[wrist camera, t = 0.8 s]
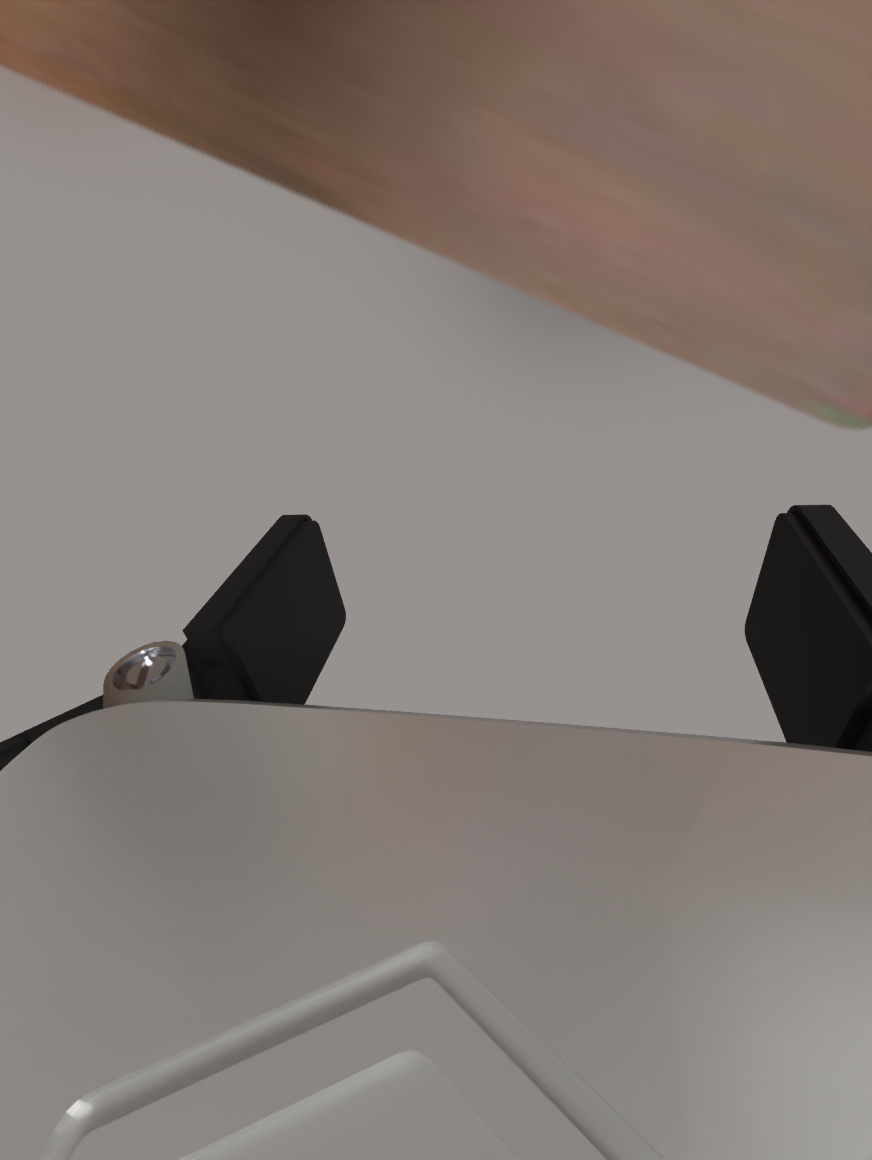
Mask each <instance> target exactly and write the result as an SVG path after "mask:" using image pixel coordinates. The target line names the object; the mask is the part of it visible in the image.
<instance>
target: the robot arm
mask: <svg viewBox="0 0 872 1160" xmlns="http://www.w3.org/2000/svg"><path fill="white" fill-rule="evenodd" d="M345 620H346V612H345V608H344V605H343V601H342V598H341V595H340V592H339V588H338V585H337V582H336V579H335V575H334V572H333V569H332V565H331V562H330V559H329V556H328V552H327V549H326V546H325V542H324V539H323V536H322V533H321V529H320V526H319V524H318V523H317V522H316V521H312V519H311V518H310V516H308V515H282V516H281V517H280V518H279V519H278V520H277V521H276V523H275V524H274V525H273V526H272V527H271V528H270V530H269V531H268V532H267V533H266V534H265V535H264V537H263V538H262V539H261V540H260V541H259V543H258V544H257V545H256V546H255V547H254V548H253V549H252V550H251V552H250V553H249V554H248V555H247V556H246V557H245V559H244V560H243V561H242V562H241V563H240V564H239V566H238V567H237V568H236V569H235V570H234V572H233V573H232V574H231V575H230V576H229V577H228V578H227V580H226V581H225V582H224V583H223V584H222V585H221V587H220V588H219V589H218V590H217V591H216V592H215V594H214V595H213V596H212V597H211V598H210V599H209V600H208V602H207V603H206V604H205V605H204V606H203V607H202V609H201V610H200V611H199V612H198V613H197V614H196V616H195V617H194V618H193V619H192V620H191V621H190V623H189V624H188V625H187V626H186V627H185V628H184V629H183V632H184V634H185V636H186V637H187V641H186V642H185V643H184V644H183V645H182V646H181V645H179V644H178V643H176V642H171V641H162V642H154V643H151V644H148V645H144V646H142V647H140V648H138V649H136V650H134V651H131V652H130V653H128V654H127V655H126V656H124V657H123V658H121V659H120V660H119V661H118V662H117V663H116V664H115V665H114V666H113V667H112V668H111V669H110V671H109V672H108V673H107V675H106V677H105V680H104V685H103V695H102V696H99V697H97V698H95V699H93V700H91V701H89V702H86V703H85V704H82V705H80V706H78V707H76V708H74V709H72V710H69V711H67V712H65V713H63V714H61V715H58V716H56V717H54V718H52V719H50V720H48V721H46V722H43V723H41V724H39V725H37V726H35V727H33V728H31V729H28V730H26V731H24V732H22V733H20V734H18V735H15V736H13V737H12V738H10V739H7V740H5V741H2V742H0V1160H872V553H871V552H870V551H869V549H868V548H867V547H866V546H865V544H864V543H863V542H862V541H861V540H860V538H859V537H858V536H857V535H856V534H855V533H854V531H853V530H852V529H851V528H850V526H849V525H848V524H847V523H846V522H845V520H844V519H843V518H842V517H841V516H840V514H839V513H838V512H837V511H836V510H835V508H834V507H832V506H831V505H794V506H792V507H791V508H790V509H789V510H788V512H787V513H781V514H779V515H778V516H777V518H776V520H775V523H774V527H773V530H772V534H771V537H770V540H769V544H768V547H767V551H766V554H765V557H764V561H763V564H762V568H761V571H760V575H759V578H758V581H757V585H756V588H755V592H754V595H753V598H752V602H751V605H750V609H749V612H748V616H747V619H746V623H745V636H746V641H747V643H748V646H749V648H750V651H751V653H752V656H753V658H754V661H755V663H756V666H757V668H758V671H759V673H760V676H761V679H762V681H763V684H764V686H765V689H766V691H767V694H768V696H769V699H770V701H771V704H772V706H773V709H774V711H775V714H776V716H777V719H778V722H779V724H780V727H781V729H782V732H783V734H784V737H785V739H786V742H787V743H784V742H771V741H758V740H748V739H738V738H726V737H716V736H703V735H691V734H679V733H667V732H654V731H642V730H630V729H617V728H605V727H593V726H581V725H569V724H556V723H544V722H543V723H542V722H531V721H518V720H505V719H492V718H479V717H466V716H453V715H439V714H426V713H413V712H399V711H385V710H371V709H356V708H343V707H329V706H315V705H304V704H305V702H306V700H307V699H308V697H309V695H310V693H311V691H312V688H313V686H314V684H315V683H316V681H317V679H318V676H319V675H320V673H321V671H322V669H323V667H324V665H325V663H326V661H327V659H328V657H329V655H330V653H331V651H332V649H333V647H334V645H335V643H336V641H337V639H338V637H339V635H340V633H341V631H342V629H343V627H344V624H345Z"/></svg>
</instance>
